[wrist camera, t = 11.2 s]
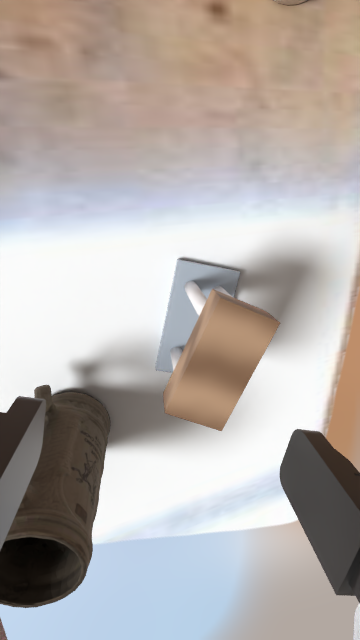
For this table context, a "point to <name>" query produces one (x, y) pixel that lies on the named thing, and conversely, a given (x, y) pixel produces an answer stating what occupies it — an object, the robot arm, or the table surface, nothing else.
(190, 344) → the brown wooden block
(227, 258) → the table surface
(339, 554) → the robot arm
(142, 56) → the table surface
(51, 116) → the table surface
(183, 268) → the peg stand
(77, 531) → the beer stein
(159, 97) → the table surface
